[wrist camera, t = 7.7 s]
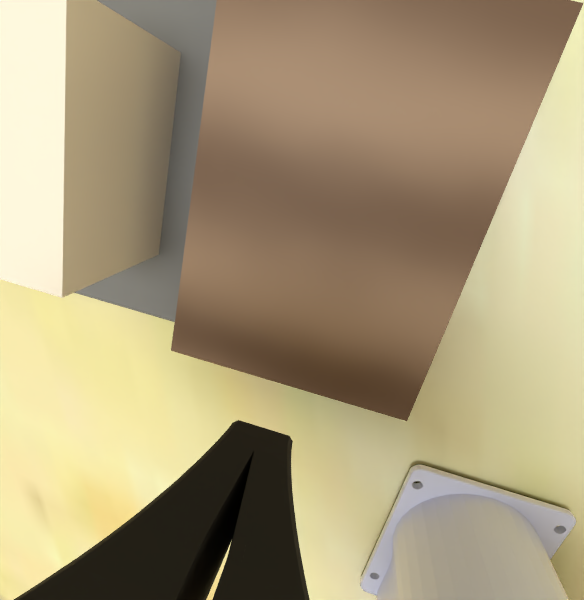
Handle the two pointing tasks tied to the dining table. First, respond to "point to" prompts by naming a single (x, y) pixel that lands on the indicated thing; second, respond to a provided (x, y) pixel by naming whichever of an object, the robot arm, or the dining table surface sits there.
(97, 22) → the tile
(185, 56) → the mat
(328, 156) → the board
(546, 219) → the dining table surface
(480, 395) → the dining table surface
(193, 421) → the dining table surface
